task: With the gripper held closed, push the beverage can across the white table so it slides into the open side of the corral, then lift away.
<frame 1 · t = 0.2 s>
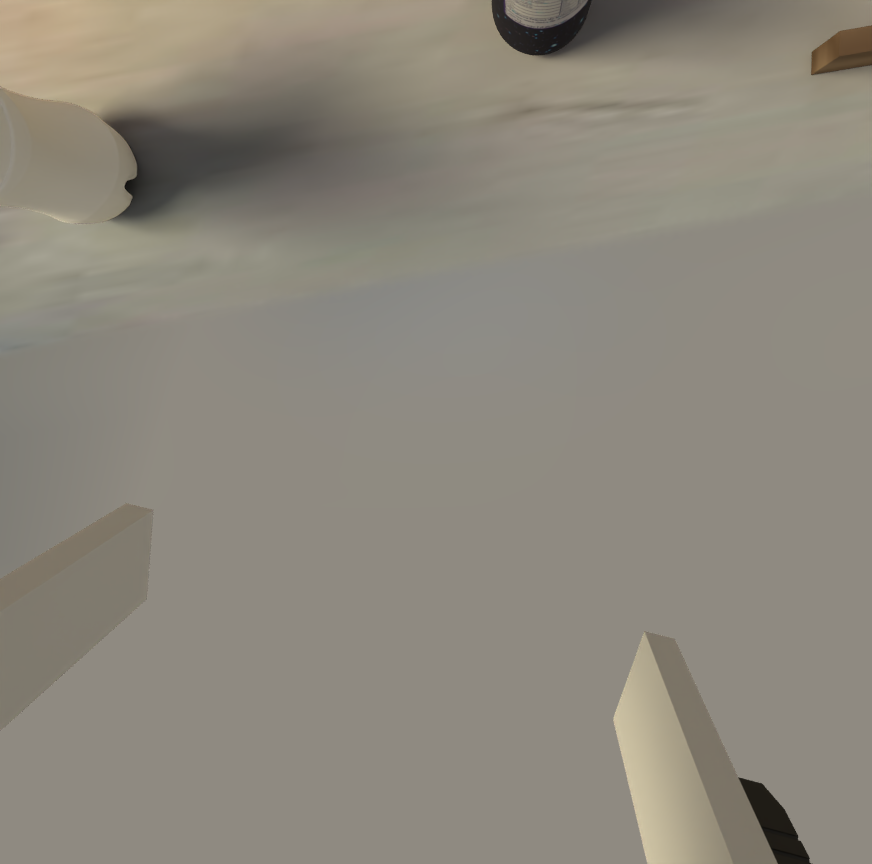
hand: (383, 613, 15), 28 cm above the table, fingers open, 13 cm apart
water bottle: (104, 173, 41), on the table
beverage can: (539, 8, 35), on the table
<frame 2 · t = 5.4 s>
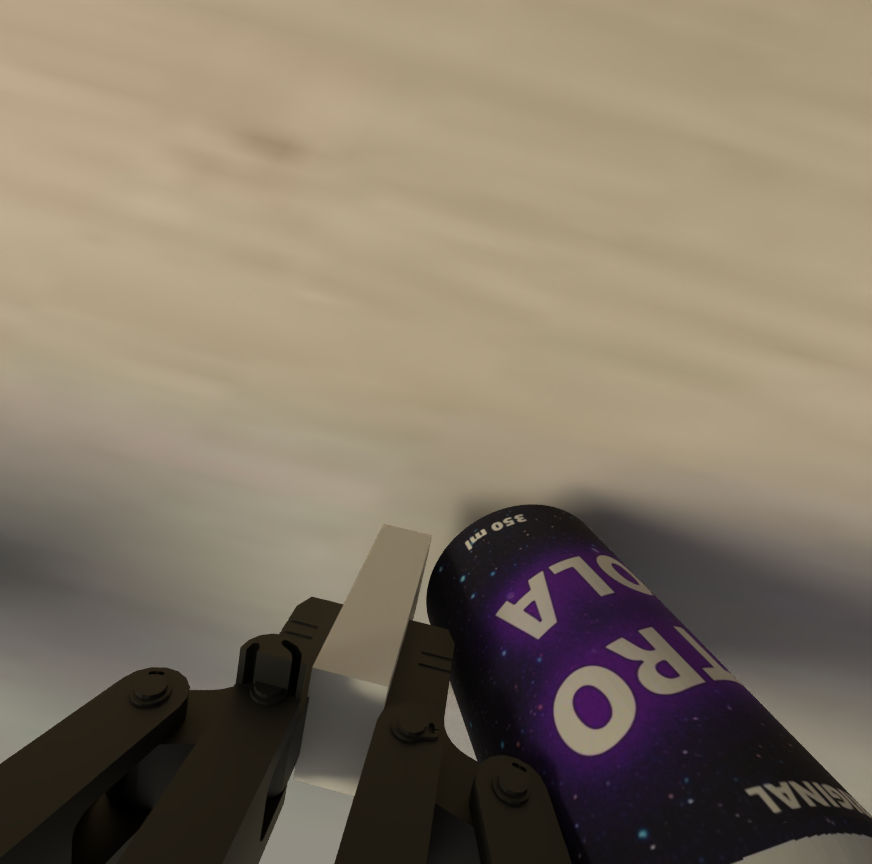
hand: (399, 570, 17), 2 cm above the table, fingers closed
beverage can: (505, 569, 19), point 1 cm above the table, touching gripper
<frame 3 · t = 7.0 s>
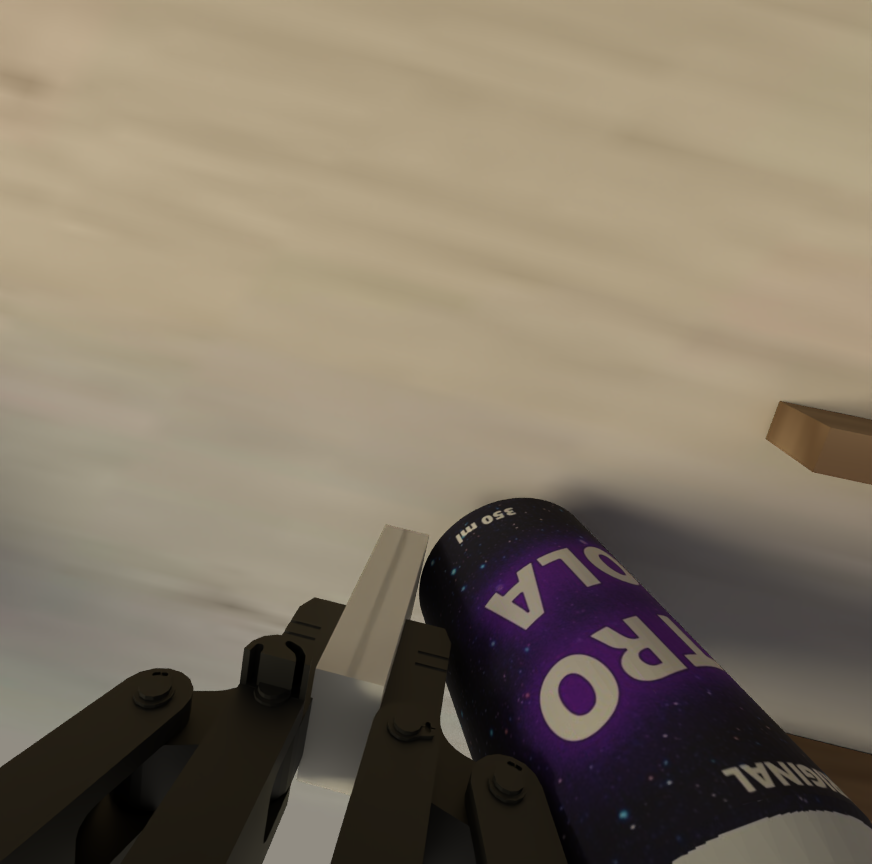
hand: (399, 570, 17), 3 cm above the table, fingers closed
corral: (870, 618, 19), on the table
beverage can: (496, 561, 19), point 1 cm above the table, touching gripper, hand
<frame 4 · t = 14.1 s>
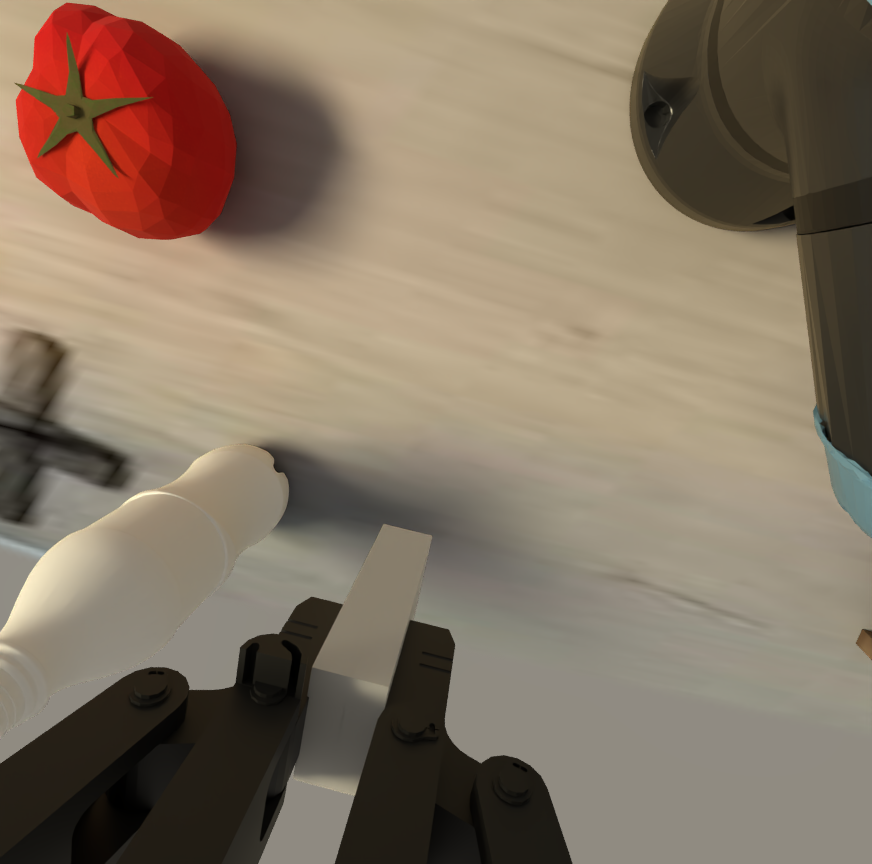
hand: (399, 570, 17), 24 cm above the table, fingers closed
water bottle: (254, 480, 45), on the table
tomato: (178, 150, 39), on the table
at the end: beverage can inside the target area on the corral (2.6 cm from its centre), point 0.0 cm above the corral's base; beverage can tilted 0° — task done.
